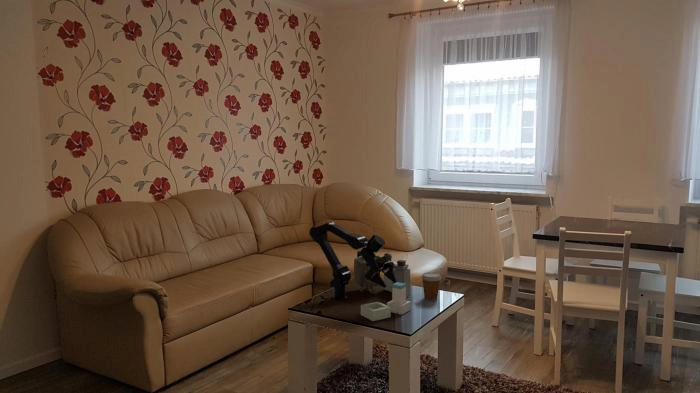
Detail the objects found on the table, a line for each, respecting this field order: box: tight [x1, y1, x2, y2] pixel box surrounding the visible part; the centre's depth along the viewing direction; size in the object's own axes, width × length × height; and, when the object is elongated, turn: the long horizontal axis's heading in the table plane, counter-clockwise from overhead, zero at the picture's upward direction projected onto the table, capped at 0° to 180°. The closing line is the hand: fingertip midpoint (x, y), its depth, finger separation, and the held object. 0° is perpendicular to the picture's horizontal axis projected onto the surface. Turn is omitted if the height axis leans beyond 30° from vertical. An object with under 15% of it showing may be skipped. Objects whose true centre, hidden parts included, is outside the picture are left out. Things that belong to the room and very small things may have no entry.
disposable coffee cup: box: [421, 272, 442, 301], centre depth 251 cm, size 10×10×12 cm
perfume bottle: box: [392, 259, 411, 298], centre depth 255 cm, size 7×7×18 cm
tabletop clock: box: [353, 246, 378, 295], centre depth 261 cm, size 14×9×25 cm, turn 15°
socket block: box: [360, 301, 392, 322], centre depth 226 cm, size 10×10×4 cm
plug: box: [391, 282, 407, 305], centre depth 233 cm, size 5×5×12 cm
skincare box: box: [383, 260, 397, 293], centre depth 264 cm, size 8×6×15 cm
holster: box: [386, 299, 412, 315], centre depth 233 cm, size 8×8×4 cm
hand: (390, 284), depth 235 cm, fingers open, 9 cm apart
